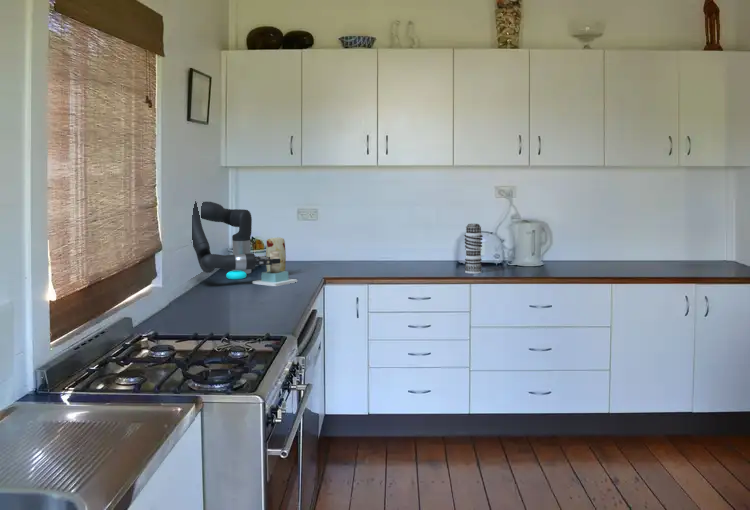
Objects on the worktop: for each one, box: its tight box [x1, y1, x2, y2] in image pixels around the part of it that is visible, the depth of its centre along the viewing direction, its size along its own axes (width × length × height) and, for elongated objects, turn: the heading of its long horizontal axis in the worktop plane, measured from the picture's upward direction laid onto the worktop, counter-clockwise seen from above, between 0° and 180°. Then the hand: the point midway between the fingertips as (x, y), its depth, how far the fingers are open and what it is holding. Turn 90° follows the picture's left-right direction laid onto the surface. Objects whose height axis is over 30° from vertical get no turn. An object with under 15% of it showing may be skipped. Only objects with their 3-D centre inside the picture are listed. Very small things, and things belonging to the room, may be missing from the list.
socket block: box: [252, 270, 298, 287], centre depth 351 cm, size 15×15×5 cm
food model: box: [265, 236, 287, 272], centre depth 370 cm, size 10×7×20 cm
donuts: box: [225, 270, 247, 280], centre depth 367 cm, size 10×10×10 cm
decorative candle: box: [464, 223, 483, 274], centre depth 378 cm, size 9×9×25 cm
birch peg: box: [270, 251, 280, 273], centre depth 350 cm, size 4×4×14 cm
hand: (278, 259), depth 351 cm, fingers open, 8 cm apart
